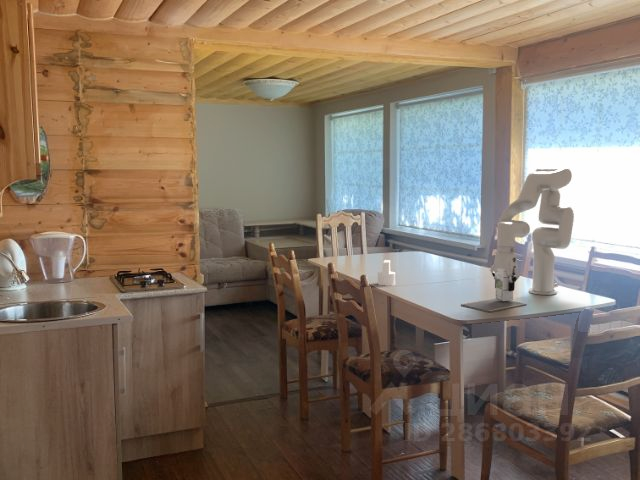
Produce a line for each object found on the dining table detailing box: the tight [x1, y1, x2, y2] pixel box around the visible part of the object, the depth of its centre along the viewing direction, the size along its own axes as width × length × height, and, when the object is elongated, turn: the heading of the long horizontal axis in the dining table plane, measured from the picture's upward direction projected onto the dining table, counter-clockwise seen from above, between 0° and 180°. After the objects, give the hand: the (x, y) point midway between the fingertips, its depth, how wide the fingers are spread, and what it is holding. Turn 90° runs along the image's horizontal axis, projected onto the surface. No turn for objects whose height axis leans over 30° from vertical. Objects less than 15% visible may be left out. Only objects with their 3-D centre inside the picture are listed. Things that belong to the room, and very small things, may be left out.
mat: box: [460, 297, 527, 313], centre depth 280 cm, size 24×16×1 cm, turn 125°
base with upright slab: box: [377, 259, 396, 287], centre depth 329 cm, size 9×9×12 cm
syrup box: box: [495, 268, 514, 301], centre depth 285 cm, size 6×6×14 cm
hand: (504, 289), depth 285 cm, fingers closed on syrup box, 6 cm apart
